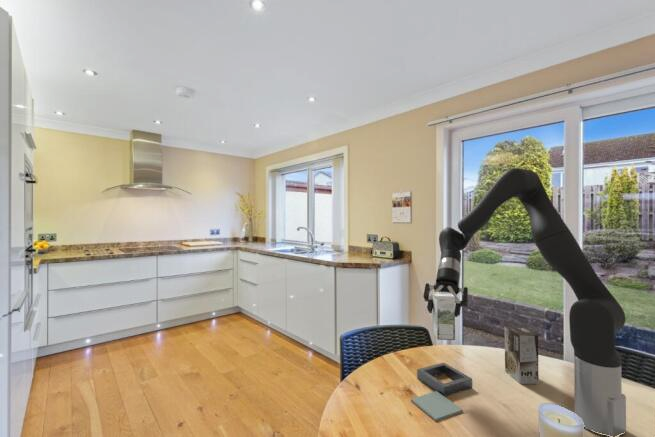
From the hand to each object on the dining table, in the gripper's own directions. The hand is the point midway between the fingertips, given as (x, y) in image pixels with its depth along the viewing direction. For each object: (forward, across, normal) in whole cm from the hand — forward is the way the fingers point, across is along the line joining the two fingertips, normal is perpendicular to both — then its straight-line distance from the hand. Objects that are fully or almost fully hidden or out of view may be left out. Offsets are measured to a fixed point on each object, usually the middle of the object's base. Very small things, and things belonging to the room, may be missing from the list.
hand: (442, 313), depth 98 cm
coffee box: (+3, +22, +30) cm, 37 cm away
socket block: (+15, 0, +17) cm, 23 cm away
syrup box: (+5, 0, +7) cm, 8 cm away
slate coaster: (+26, 0, +7) cm, 27 cm away
